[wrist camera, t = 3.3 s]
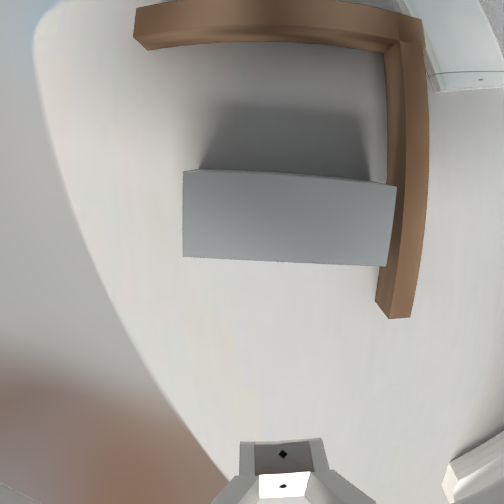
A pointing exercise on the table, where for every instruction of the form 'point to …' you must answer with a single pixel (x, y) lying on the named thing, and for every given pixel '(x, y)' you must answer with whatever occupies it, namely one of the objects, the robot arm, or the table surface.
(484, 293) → the table surface
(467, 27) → the hard drive
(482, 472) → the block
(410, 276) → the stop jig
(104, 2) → the table surface
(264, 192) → the block
